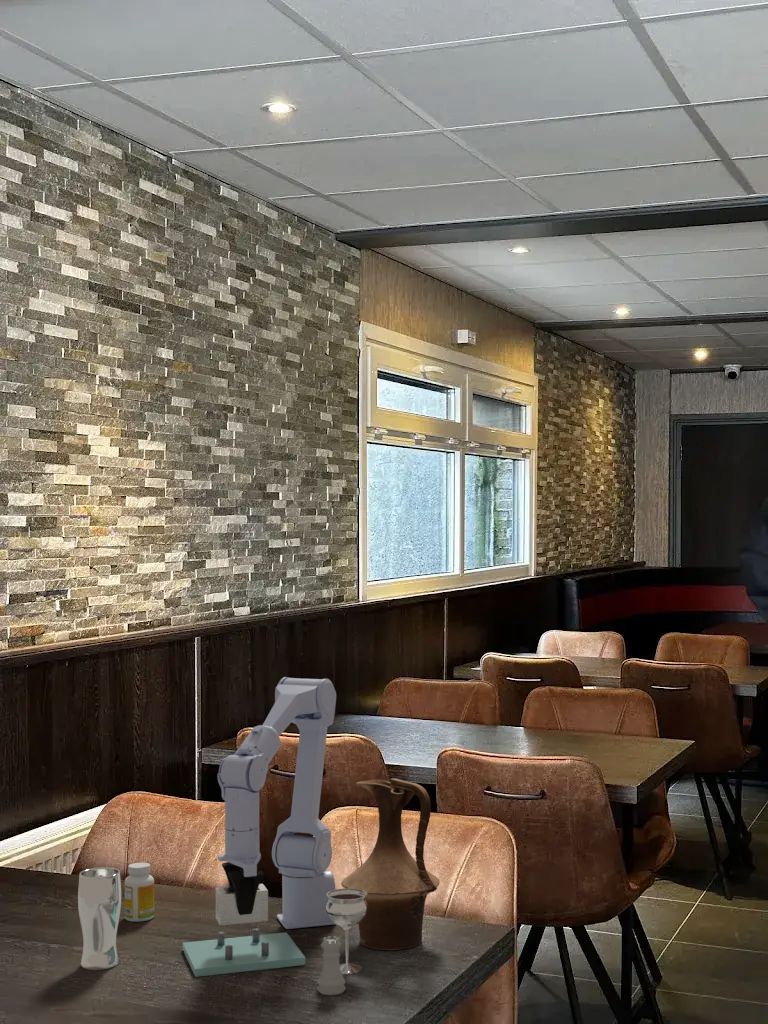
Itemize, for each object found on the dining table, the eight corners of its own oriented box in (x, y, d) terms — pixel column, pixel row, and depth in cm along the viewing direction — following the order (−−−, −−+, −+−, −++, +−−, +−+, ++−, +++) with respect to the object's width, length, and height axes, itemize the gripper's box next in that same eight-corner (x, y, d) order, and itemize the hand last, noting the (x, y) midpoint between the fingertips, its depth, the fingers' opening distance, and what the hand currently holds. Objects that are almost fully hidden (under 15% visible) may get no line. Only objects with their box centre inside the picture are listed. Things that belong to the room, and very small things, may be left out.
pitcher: (460, 936, 219) (458, 775, 220) (409, 964, 205) (408, 792, 205) (375, 921, 228) (374, 766, 229) (321, 946, 214) (320, 781, 215)
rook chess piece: (316, 986, 195) (316, 934, 195) (345, 985, 195) (344, 933, 195) (317, 996, 190) (317, 943, 191) (346, 995, 191) (346, 942, 191)
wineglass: (337, 978, 198) (336, 902, 199) (319, 966, 204) (318, 891, 205) (375, 971, 201) (374, 896, 202) (356, 959, 207) (356, 886, 208)
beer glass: (129, 959, 208) (129, 868, 208) (106, 973, 202) (106, 879, 202) (92, 955, 210) (92, 865, 211) (69, 968, 204) (69, 875, 204)
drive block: (262, 913, 212) (262, 883, 212) (268, 920, 208) (267, 890, 208) (215, 917, 210) (215, 887, 210) (220, 925, 206) (220, 894, 206)
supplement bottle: (157, 914, 234) (157, 861, 234) (149, 922, 229) (149, 869, 229) (129, 913, 234) (129, 861, 235) (120, 922, 229) (120, 868, 229)
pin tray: (286, 939, 218) (286, 920, 218) (305, 964, 205) (305, 945, 205) (182, 949, 213) (182, 930, 213) (195, 976, 200) (195, 956, 200)
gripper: (211, 820, 215) (211, 900, 215) (226, 839, 201) (226, 924, 201) (251, 817, 217) (252, 896, 217) (269, 835, 203) (269, 920, 203)
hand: (242, 909), depth 209 cm, fingers closed on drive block, 4 cm apart
